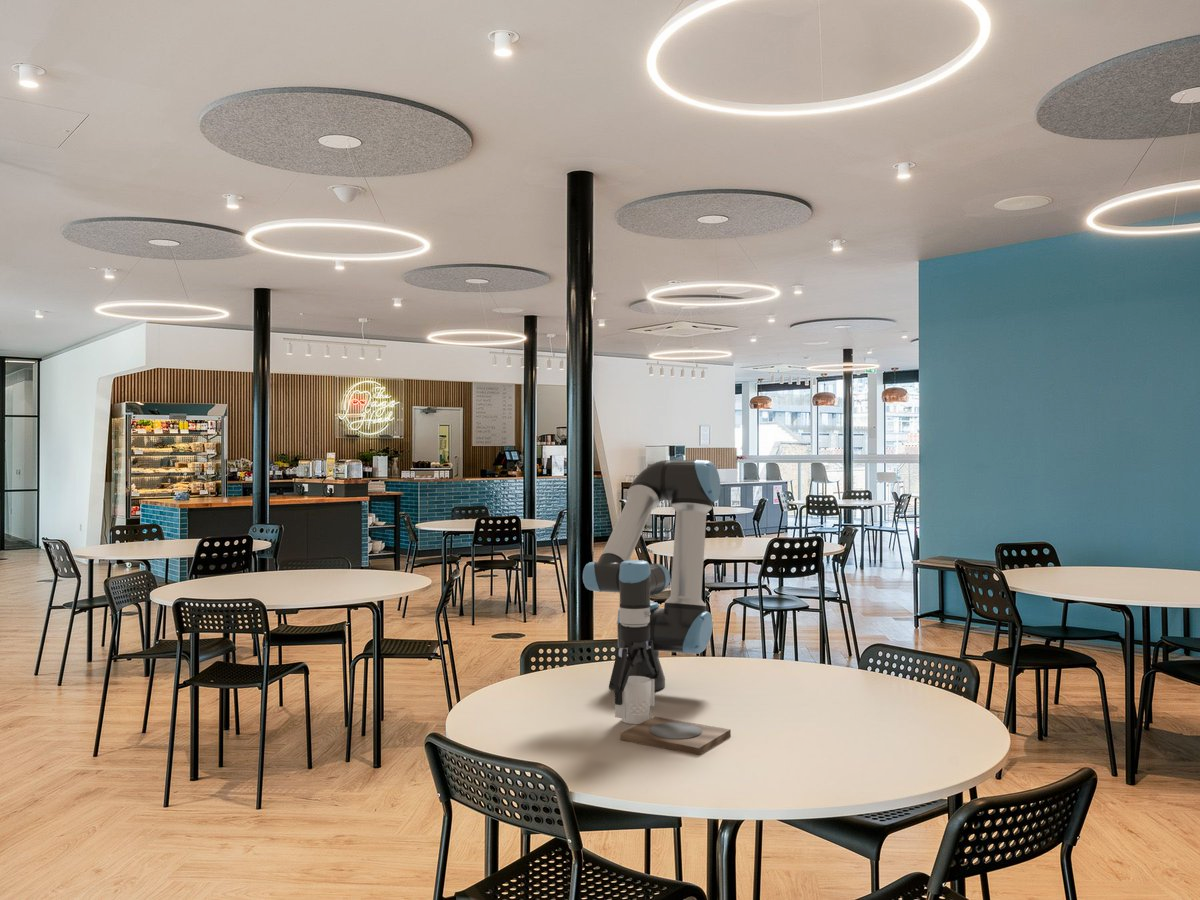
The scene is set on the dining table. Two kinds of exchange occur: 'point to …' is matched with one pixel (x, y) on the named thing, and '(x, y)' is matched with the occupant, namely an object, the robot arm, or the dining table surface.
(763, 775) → the dining table surface
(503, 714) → the dining table surface
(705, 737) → the board
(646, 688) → the white cup
